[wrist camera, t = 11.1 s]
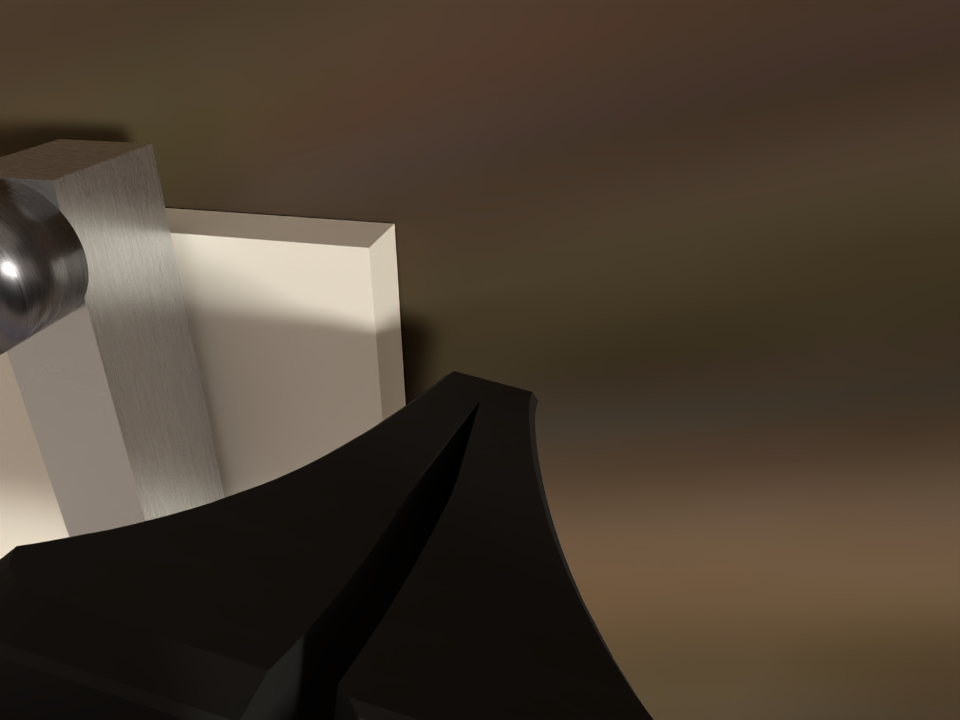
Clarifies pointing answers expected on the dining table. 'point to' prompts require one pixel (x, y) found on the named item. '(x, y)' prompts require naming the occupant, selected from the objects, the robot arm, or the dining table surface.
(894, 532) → the dining table surface
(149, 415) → the crank arm
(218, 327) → the crank board
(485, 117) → the dining table surface
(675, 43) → the dining table surface
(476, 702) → the robot arm
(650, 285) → the dining table surface
